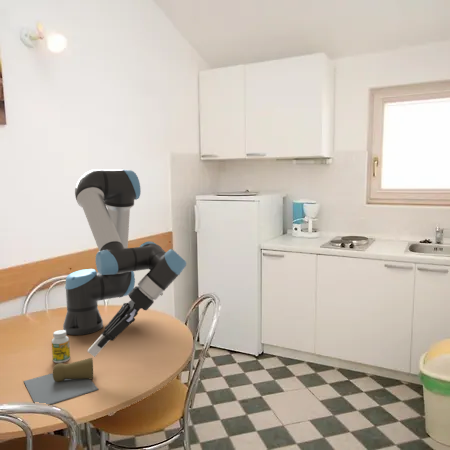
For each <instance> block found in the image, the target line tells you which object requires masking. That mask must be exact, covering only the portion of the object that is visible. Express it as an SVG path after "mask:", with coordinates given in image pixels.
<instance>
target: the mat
mask: <svg viewBox="0 0 450 450" xmlns="http://www.w3.org/2000/svg"><path fill="white" fill-rule="evenodd" d="M23 383H24V385H25V387H26V389H27V391H28V393H29V395H30V397H31V399H32V401H33V403H34V402H39V403H46V404H51V405H53V404H57V403H61V402H64V401H67V400H71V399H73V398H76V397H80V396H83V395H85V394H90V393H92V392H95V391H98V390H99V388H98V387H97V385H96V384H95V383H94V382H93V380H92V379H65V380H63V381H61V382H56V381H54V379H53V372H52V373H48V374H45V375H41V376H38V377H33V378H30V379H26V380H23Z"/></svg>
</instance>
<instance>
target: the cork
mask: <svg viewBox="0 0 450 450" xmlns="http://www.w3.org/2000/svg"><path fill="white" fill-rule="evenodd" d="M52 373H53V379H54V381H56V382H61V381H63V380H65V379H90V380H93V379H94V361H93V357H90V358H86V359H85V358H84V359H81V360H78V361H74V362H70V363H66V364H65V363H64V362H62V363H56V364H54V366H53V369H52Z"/></svg>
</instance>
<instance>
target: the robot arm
mask: <svg viewBox="0 0 450 450" xmlns="http://www.w3.org/2000/svg"><path fill="white" fill-rule="evenodd" d="M141 189H142V188H141V183H140V179H139V177H138V175H137V173H136V172H135V171H133V170H132V169H123V168H121V169H100V168H99V169H98V168H96V169H91V170H89V171H87V172H85V173H84V174H82V175H81V177H80V178H79V179H78V181H77V182H76V184H75V189H74V196H75V199H76V202H77V205H78V206H80V207H81V208H82V211H83V212H84V215H85V217H86V220H87V222H88V225H89V228H90V231H91V234H92V236H93V238H94V241H95V244H96V246H97V248H98V251H97V252H96V254H95V266H96V267H95V268H96V269H94V268H88V269H79V270H76V271H73V272H71V273H69V274H68V275H66V278H65V286H64V288H65V298H66V314H65V318H64V321H63V326H62V327H63V329H62V330H66V335H72V336H81V335H88V334H89V335H90V334H93V333H96V332H98V331H101V330H102V329H103V327H104V321H103V318H102V315H101V313H100V309H99V308H98V302H99V301H104V300H111V299H116V298H122V297H128V298H129V299H130V300H129V301H128V302H123V304H122V305H121V307H120V309H119V310H118V311H117V313H116V314H115V315H114V316H113V317H112V319H111V320H110V321H109V322H108V323H107V324H106V325H105V327H104V330H103V332H101V334H100V336H99V337H97V339H96V340H95V341H94V343H92V345H91V346H90V347H89V348H87V353H88V354H90V355H91V356H92V357H94V358H96V357H97V355H98V354H99V353H100V352H101V351H102V350H103V349H104V348H105V347H106V345H107V344H108V343H109V342H110V341H114V340H115V339H116V338H117V337H119V335H121V333H122V332H123V331H125V330H126V329H127V328H128V326H130V325H131V324H132V323H134V322H135V320H136V317H137V315H138V314H139V312H140V309H142V310H143V311H148V310H149V308H151V306H152V305H153V304H154V301H156V300H157V299H158V298H159V297H161V296H163V295H164V291H166V289H167V288H168V287H169V286H170V285H171V284H172V283H173V282H174V281H175V280H176V279H177V278H178V277H179V276H180V275H181V273H182V272H183V270H184V269H185V268H186V266H187V261H186V260H185V259H184V258H183V257H182V256H180V255H179V254H178V253H177V252H176V251H175V250H173V248H171V249H168V250H167V251H165V250H164V249H163V248H162V246H160V245H159V244H157V243H155V242H153V241H144V243H142V244H141V245H139V246H138V247H137V246H136V247H129V232H130V231H129V230H130V213H131V209H132V208H133V207H134V205H135V201H137V200H138V199H140V197H141ZM145 270H149V271H148V272H147V273H146V274H145V275H144V276H143V277H142V278H141V280H139V282H138V283H137V286H135V283H136V278H135V272H139V271H145Z"/></svg>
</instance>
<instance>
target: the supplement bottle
mask: <svg viewBox="0 0 450 450" xmlns="http://www.w3.org/2000/svg"><path fill="white" fill-rule="evenodd" d="M52 335H53V338H52V339H51V355H52V362H54V363H56V364H58V363H65V362H68V361H69V360H70V359H71V350H70V348H71V347H70V338H69V336H67V334H66V330H63V329H60V330H55V331H53V334H52Z"/></svg>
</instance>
